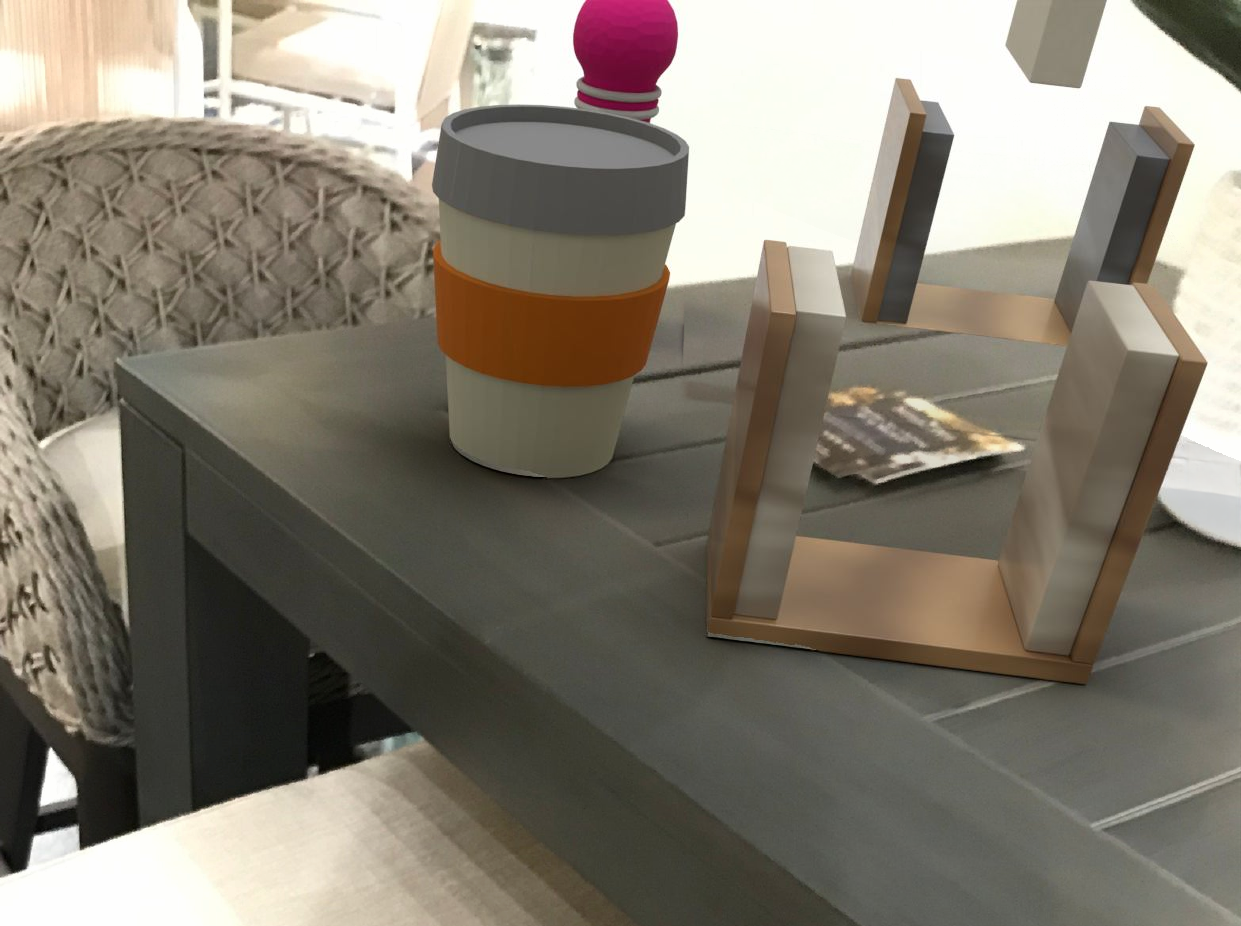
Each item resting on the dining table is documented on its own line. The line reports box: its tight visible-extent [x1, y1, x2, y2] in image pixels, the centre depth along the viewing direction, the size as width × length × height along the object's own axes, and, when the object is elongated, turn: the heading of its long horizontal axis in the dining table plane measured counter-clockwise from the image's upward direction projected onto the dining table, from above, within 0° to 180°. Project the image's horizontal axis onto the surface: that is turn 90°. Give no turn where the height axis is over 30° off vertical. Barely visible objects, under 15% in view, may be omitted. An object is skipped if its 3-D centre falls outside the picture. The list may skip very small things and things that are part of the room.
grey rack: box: [850, 77, 1196, 347], centre depth 105 cm, size 17×10×13 cm, turn 83°
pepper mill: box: [572, 0, 679, 123], centre depth 97 cm, size 7×7×20 cm
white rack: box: [705, 239, 1208, 685], centre depth 71 cm, size 17×10×14 cm, turn 83°
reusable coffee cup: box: [431, 104, 690, 479], centre depth 83 cm, size 13×13×15 cm
